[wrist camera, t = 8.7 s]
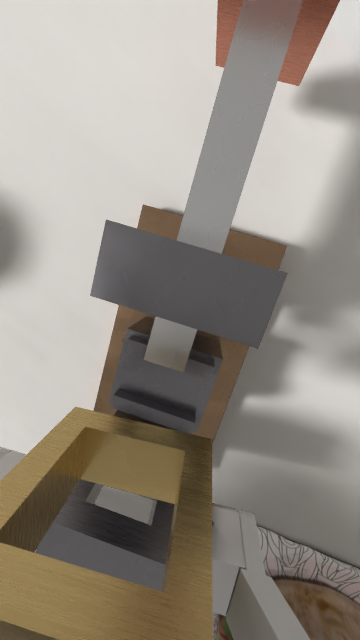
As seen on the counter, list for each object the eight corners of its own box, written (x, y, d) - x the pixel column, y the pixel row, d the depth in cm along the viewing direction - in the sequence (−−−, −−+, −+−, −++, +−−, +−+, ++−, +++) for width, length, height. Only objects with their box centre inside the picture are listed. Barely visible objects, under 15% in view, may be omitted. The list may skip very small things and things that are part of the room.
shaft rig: (199, 465, 25) (191, 650, 13) (94, 428, 25) (-11, 569, 13) (281, 248, 20) (397, 205, 8) (147, 209, 21) (58, 113, 8)
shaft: (208, 350, 17) (209, 413, 9) (144, 329, 17) (92, 373, 10) (312, 45, 13) (467, -296, 5) (226, 24, 13) (251, -327, 6)
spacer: (200, 487, 10) (186, 775, 4) (71, 455, 11) (-95, 670, 5) (211, 439, 10) (212, 691, 4) (75, 406, 10) (-107, 584, 4)
